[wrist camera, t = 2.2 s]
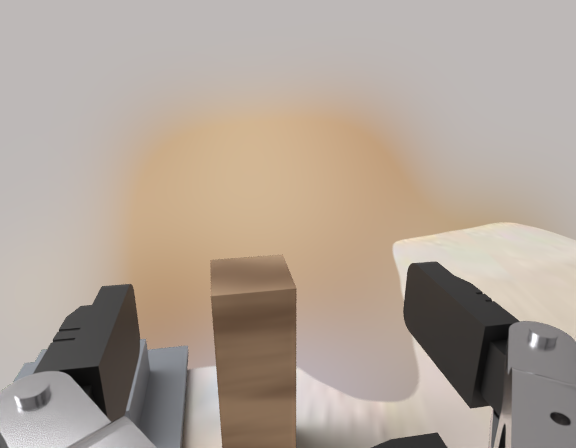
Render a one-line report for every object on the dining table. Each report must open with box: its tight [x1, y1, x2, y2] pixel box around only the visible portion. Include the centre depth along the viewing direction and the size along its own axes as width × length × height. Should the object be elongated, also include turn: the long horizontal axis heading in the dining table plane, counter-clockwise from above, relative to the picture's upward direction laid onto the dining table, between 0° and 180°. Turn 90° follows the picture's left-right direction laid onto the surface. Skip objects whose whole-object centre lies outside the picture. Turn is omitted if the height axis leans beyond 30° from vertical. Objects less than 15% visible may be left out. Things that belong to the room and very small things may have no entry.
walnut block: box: [211, 255, 296, 448], centre depth 27 cm, size 4×4×14 cm
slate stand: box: [13, 339, 188, 448], centre depth 31 cm, size 14×14×4 cm
